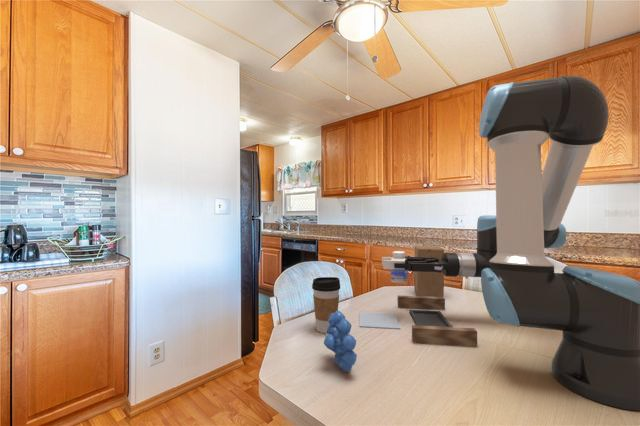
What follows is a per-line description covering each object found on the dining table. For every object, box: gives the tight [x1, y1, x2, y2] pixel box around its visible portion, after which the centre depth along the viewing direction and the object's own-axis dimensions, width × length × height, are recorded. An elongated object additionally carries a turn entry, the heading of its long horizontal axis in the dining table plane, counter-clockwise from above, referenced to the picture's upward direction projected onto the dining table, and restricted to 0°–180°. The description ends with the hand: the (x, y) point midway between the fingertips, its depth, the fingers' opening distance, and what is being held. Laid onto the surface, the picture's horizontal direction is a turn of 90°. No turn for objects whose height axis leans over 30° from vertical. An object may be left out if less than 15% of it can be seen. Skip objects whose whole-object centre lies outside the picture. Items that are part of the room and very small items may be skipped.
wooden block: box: [413, 245, 445, 298], centre depth 118 cm, size 10×10×20 cm
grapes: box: [323, 310, 358, 373], centre depth 65 cm, size 12×7×12 cm, turn 22°
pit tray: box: [408, 309, 454, 327], centre depth 90 cm, size 10×16×1 cm, turn 173°
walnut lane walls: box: [397, 295, 478, 348], centre depth 90 cm, size 16×29×4 cm, turn 173°
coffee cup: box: [311, 276, 341, 334], centre depth 85 cm, size 8×8×15 cm
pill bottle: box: [390, 250, 409, 284], centre depth 94 cm, size 5×5×10 cm
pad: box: [358, 311, 401, 330], centre depth 92 cm, size 12×12×1 cm
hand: (382, 262), depth 95 cm, fingers closed on pill bottle, 5 cm apart
